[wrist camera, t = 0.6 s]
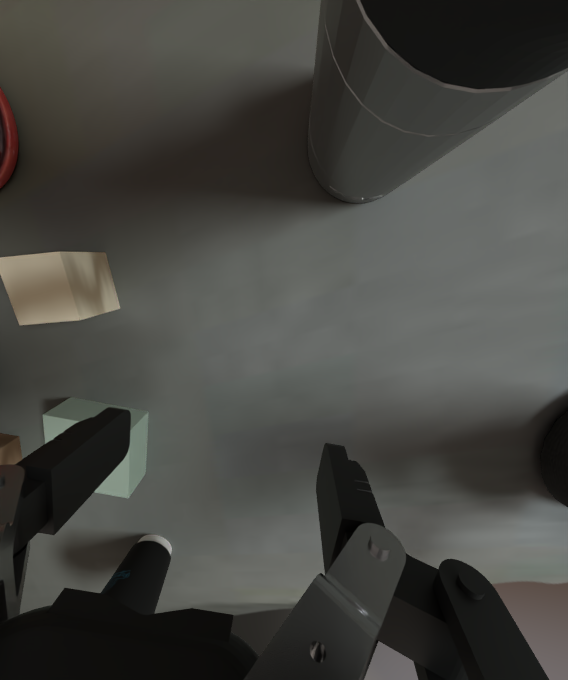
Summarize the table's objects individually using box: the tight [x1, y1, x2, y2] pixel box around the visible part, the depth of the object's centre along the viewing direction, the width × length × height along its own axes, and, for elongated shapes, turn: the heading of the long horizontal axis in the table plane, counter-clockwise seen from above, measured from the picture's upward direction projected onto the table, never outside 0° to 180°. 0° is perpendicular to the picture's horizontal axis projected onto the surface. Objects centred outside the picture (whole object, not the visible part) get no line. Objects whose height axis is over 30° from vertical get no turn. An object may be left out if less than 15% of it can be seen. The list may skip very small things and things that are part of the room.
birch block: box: [0, 252, 120, 325], centre depth 25 cm, size 6×6×6 cm
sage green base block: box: [43, 397, 148, 498], centre depth 31 cm, size 9×9×4 cm
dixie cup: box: [100, 534, 172, 615], centre depth 33 cm, size 8×8×11 cm
